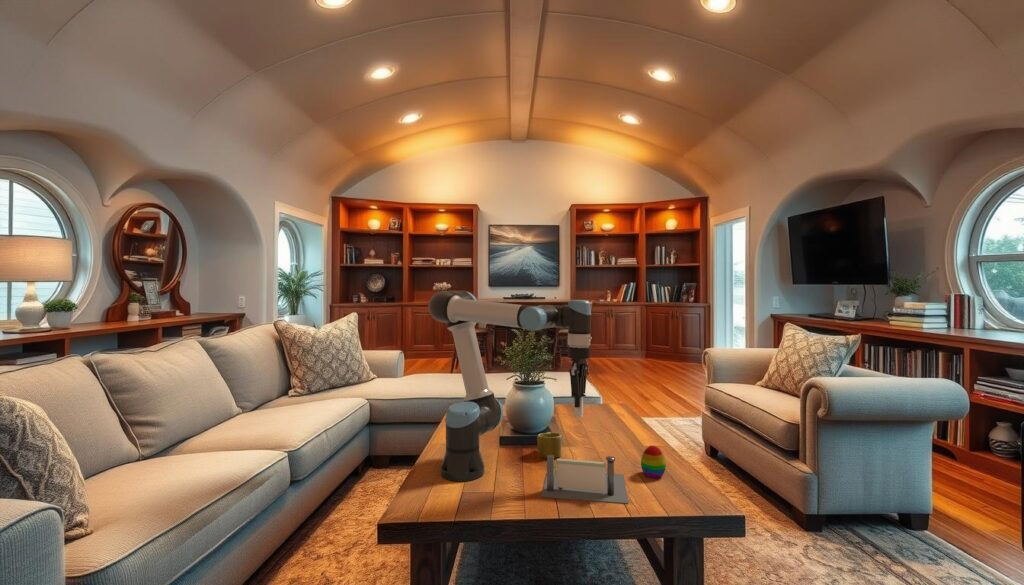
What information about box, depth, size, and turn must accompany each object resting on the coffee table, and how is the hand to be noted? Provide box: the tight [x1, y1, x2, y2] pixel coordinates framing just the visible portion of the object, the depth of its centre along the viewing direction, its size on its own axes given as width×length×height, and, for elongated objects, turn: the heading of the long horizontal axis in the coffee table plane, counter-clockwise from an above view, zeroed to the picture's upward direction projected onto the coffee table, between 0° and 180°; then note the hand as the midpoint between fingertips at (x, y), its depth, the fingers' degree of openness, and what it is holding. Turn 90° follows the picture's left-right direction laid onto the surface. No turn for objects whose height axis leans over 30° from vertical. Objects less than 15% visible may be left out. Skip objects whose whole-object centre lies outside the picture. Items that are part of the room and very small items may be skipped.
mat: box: [540, 469, 629, 505], centre depth 151 cm, size 26×22×1 cm
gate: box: [556, 458, 606, 492], centre depth 145 cm, size 15×2×9 cm, turn 77°
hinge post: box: [605, 456, 616, 496], centre depth 143 cm, size 3×3×12 cm
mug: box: [536, 431, 563, 459], centre depth 179 cm, size 12×10×10 cm
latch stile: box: [546, 455, 557, 491], centre depth 147 cm, size 3×3×11 cm
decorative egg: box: [640, 445, 667, 479], centre depth 160 cm, size 8×8×10 cm
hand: (578, 416), depth 156 cm, fingers closed
